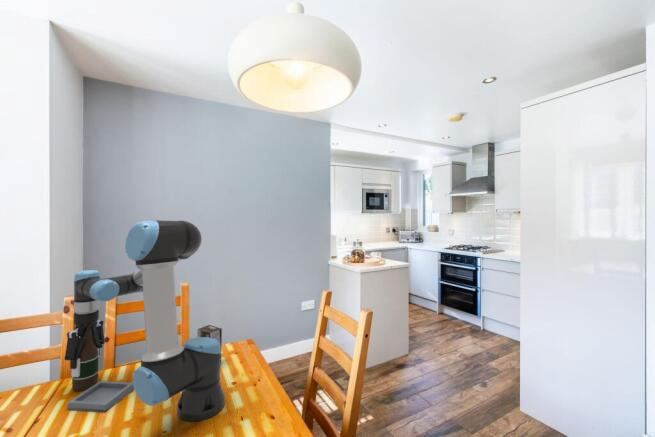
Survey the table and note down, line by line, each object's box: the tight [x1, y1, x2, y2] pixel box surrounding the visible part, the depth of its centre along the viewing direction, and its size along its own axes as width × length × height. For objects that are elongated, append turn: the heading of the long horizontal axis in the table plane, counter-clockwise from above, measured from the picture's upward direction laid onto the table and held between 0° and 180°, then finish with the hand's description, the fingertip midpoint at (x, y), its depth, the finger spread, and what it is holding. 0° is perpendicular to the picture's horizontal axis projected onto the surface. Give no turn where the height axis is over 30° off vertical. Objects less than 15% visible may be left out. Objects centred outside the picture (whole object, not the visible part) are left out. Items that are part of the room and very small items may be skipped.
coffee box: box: [196, 324, 223, 366], centre depth 133 cm, size 9×6×16 cm
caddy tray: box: [66, 380, 135, 413], centre depth 107 cm, size 13×13×2 cm
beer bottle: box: [71, 323, 100, 392], centre depth 115 cm, size 8×8×24 cm
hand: (85, 370), depth 115 cm, fingers closed on beer bottle, 8 cm apart
